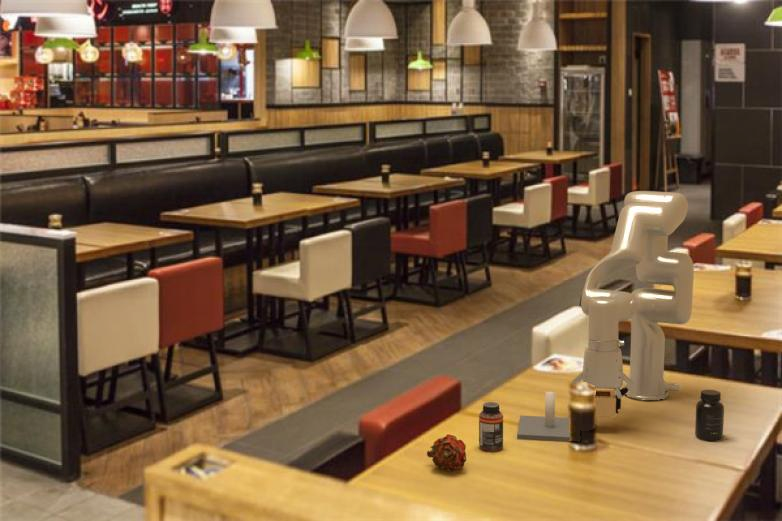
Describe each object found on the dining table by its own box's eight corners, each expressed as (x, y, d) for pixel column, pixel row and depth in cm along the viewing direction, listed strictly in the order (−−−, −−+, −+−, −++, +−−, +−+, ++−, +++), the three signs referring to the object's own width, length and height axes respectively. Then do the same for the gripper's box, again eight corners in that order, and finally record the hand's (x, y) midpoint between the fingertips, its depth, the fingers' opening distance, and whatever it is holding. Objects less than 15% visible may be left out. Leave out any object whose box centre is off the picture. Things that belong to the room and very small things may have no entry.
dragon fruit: (453, 484, 230) (439, 473, 241) (481, 460, 231) (465, 450, 243) (430, 456, 228) (417, 446, 240) (458, 432, 230) (444, 423, 242)
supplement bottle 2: (690, 433, 259) (692, 388, 258) (716, 432, 260) (718, 387, 258) (700, 442, 253) (702, 396, 251) (727, 441, 253) (729, 395, 251)
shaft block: (580, 422, 269) (581, 385, 267) (581, 442, 253) (582, 403, 252) (520, 419, 271) (520, 383, 270) (517, 438, 256) (517, 400, 254)
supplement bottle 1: (486, 442, 253) (486, 399, 252) (507, 447, 250) (508, 403, 248) (474, 449, 248) (474, 405, 247) (495, 454, 245) (496, 409, 243)
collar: (614, 410, 265) (614, 390, 264) (615, 418, 259) (615, 398, 258) (589, 409, 266) (589, 389, 265) (589, 417, 260) (590, 397, 259)
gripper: (637, 341, 261) (635, 407, 264) (569, 340, 264) (568, 405, 267) (638, 349, 254) (637, 417, 257) (568, 348, 257) (568, 415, 260)
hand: (602, 410), depth 262 cm, fingers closed on collar, 6 cm apart
